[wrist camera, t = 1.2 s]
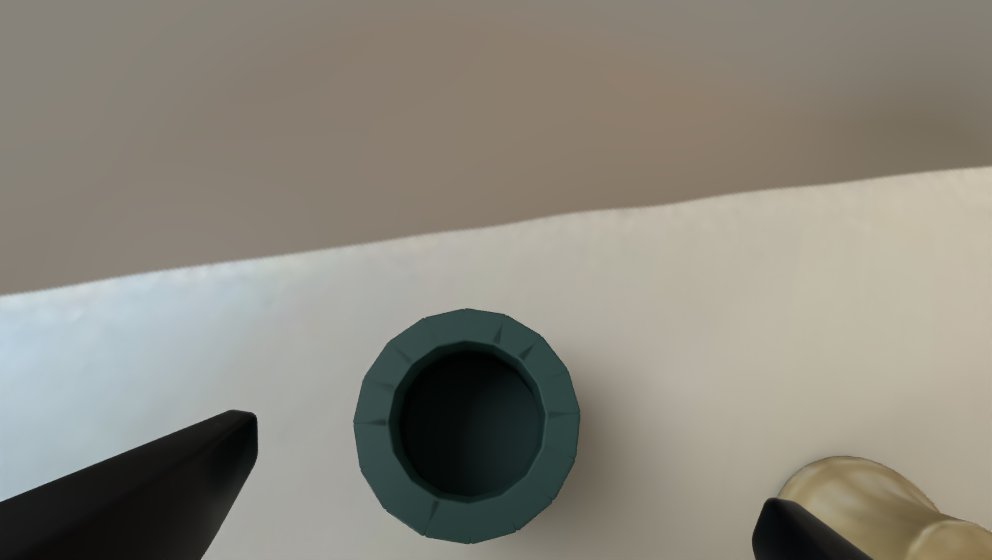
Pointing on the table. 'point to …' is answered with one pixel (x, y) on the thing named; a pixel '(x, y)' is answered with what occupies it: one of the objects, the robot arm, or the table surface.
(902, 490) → the hand bell
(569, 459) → the jar
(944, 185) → the table surface
